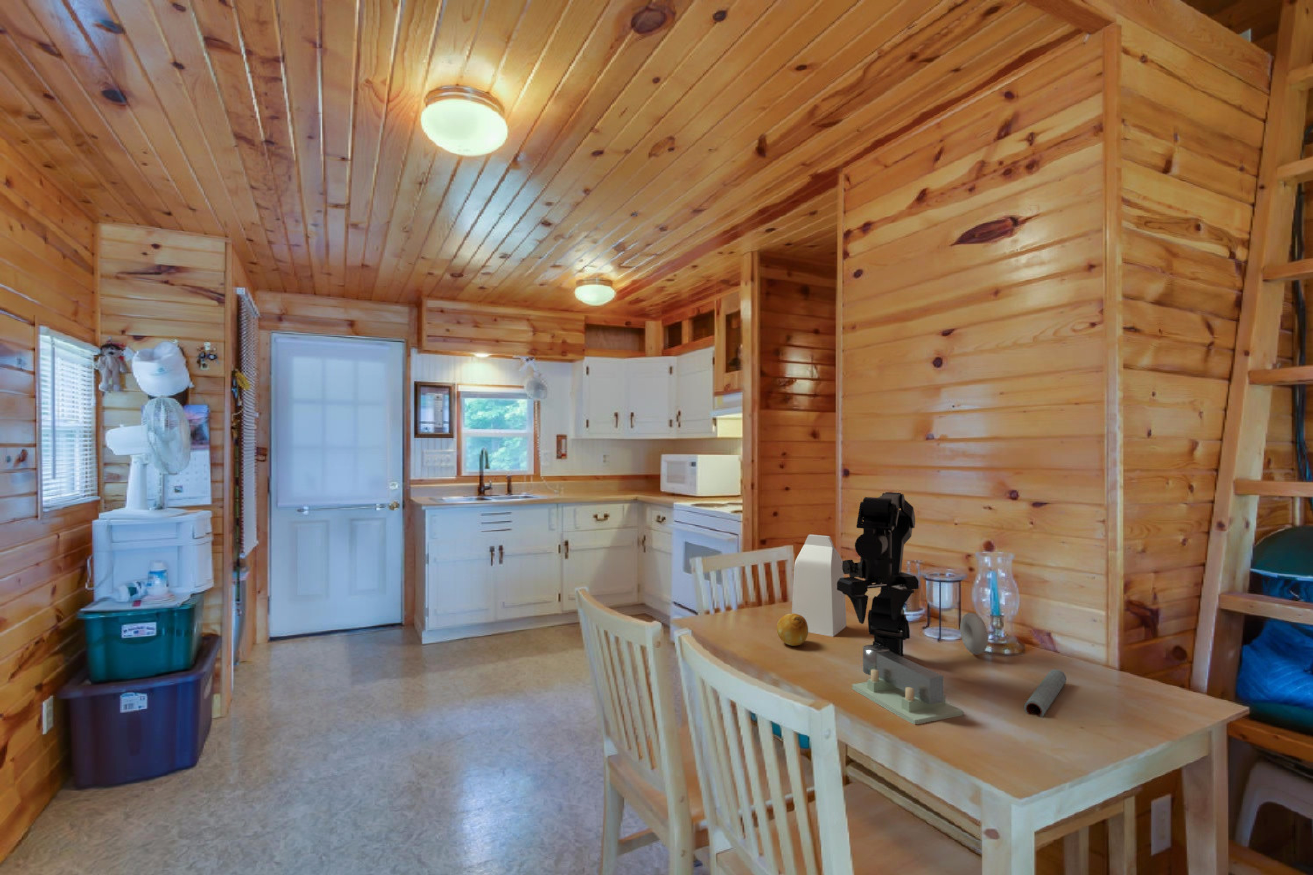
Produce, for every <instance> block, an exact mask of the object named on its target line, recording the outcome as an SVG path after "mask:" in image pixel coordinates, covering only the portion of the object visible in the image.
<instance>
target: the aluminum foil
mask: <svg viewBox="0 0 1313 875" xmlns="http://www.w3.org/2000/svg"><path fill="white" fill-rule="evenodd" d="M1066 682H1067V676H1066V674H1065V673H1064V672H1063V671H1062V670H1060V669H1055V668H1054V669H1051V670H1049V671H1048V673H1047V674H1046V676H1044V679H1043V680H1042V681H1041V682H1040V684H1039V685H1038V686H1037V687H1036V689H1035V690H1034V691H1033V693H1032V694H1031V695H1030V697H1029V698H1028V699H1027V700H1026V701H1025V703H1024V705H1023V706H1024V707H1023V709H1024V712H1025V713H1026V714H1028V715H1032V713H1033V712H1034V711H1035V710H1036V709H1037V708H1038V709H1039V710H1040V711H1039V713H1038V714H1037V717H1038V718H1039V717H1041V718H1043V717H1044V716H1045V714H1046V713H1047V711H1048V710H1049V708H1050V706H1051V705H1052V704H1053V702H1054V701H1055V699H1056V698H1057V696H1058V694H1060V693H1061V692H1060V691H1061V690H1063V689H1062V688H1063V687H1064V686H1065V685H1066Z"/></svg>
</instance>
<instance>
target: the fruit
mask: <svg viewBox="0 0 1313 875" xmlns="http://www.w3.org/2000/svg"><path fill="white" fill-rule="evenodd" d="M776 633H777V635H778V637H779V639H780V640H781V641H782V642H783V643H784V644H785V645H788V646H791V647H799V646H801V645H802V644H803V643H804V642H805V641H806V640H807V637H808V635H809V632H808V625H807V622H806V620H805V618H804V617H802V616H801V615H798V614H794V613H792V612H791V613H787V614H785V615H783V616H782V617H781V618H780V619H779V620H778V622H777V625H776Z"/></svg>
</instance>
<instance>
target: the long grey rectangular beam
mask: <svg viewBox="0 0 1313 875" xmlns="http://www.w3.org/2000/svg"><path fill="white" fill-rule="evenodd" d="M872 669H876V670H878V671H879V678H880V679H882V680H884V681H886V682H888V683H890V684H892V685H894V686H895V687H897V688H899V689H901V690H903V691H905V688H906V687H911V688H914V697H916V698H918V699H920V700H922V701H924V702H926V703H928V704H935V703H940V702H943V694H944V675H942V674H940V673H938V672H936V671H934V670H931V669H930V668H928V667H925V666H923V665H921V664H918V663H916V662H914V661H912V660H910V659H908V658H905V657H904V656H903V657H901V656H899V655H897V654H895V653H892V652H890V651H889V649H888V648H886V647H884V646H880V645H873V644H866V645H863V647H862V672H864V674H866V675H868V676H871V670H872Z"/></svg>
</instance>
